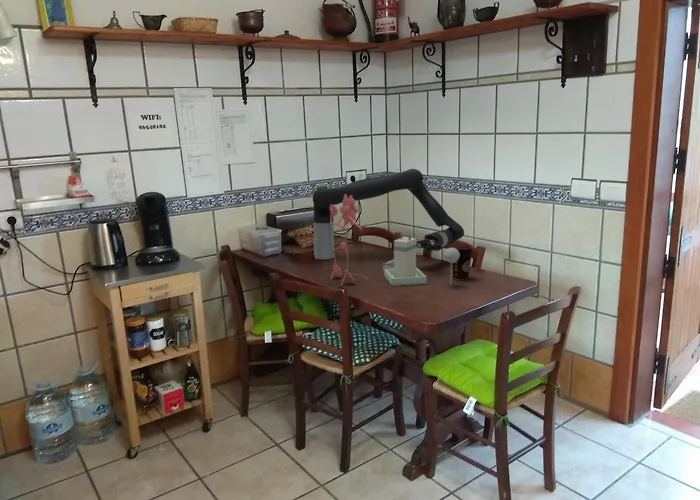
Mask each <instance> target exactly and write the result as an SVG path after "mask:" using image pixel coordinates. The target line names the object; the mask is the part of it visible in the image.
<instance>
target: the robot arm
mask: <svg viewBox="0 0 700 500" xmlns="http://www.w3.org/2000/svg"><path fill="white" fill-rule="evenodd" d="M401 190H408V191H409V192H410V193H411V194H412V195H413V196H414V197H415V198H416V199H417V200H418V203H420V205H422V207H423V208H424V210H425V211H426V212H427V214H428V215H429V217H430V218H431V220H432V221H433V222H434V224H435V225H436V226H437V227H440V228H441V227H444V226H447V228H446V229H441V230H439V231H438V230H437V231H434V232H431V233H428V234H427V235H426V236H424V238H423V239H418V238H415V239H416V249H425V252H427V253H428V252H434V251H436V252H440V251H441V250H443V249H444V247H445V246H450V245H452V244H453V243H455V242H456V241H457V242H458V240H460V239H462V238H463V237H464V236H465V231H464V228H463V226H462V225H460V224H459V223H458V222H457V221H456V220H454V219H453V218H452V217H451V216H449V214H448V213H447V211H446V210H445V209H444V208H443V206H442V205H441V204H440V202H438V200H437V199H436V198H435V197H434V196H433V195H432V194H431V192H430V191H429V190H428V189H427V187H426V185H425V183H424V176H423V173H422V172H421V171H420V170H418V169H415V168H409V169H407V170H403V171H401V172H397V173H395V174H389V175H382V176H381V175H380V176H373V177H368V178H363V179H358V180H355V181H353V182H350V183H347V184H345V185H343V186H342V185H341V186H338V187H330V188H329V187H326V186H320V187H317V188H316V189H315V190H314V192H313V196H312V202H313V255H314V259H315V260H331V259H335V258H334V253H335V252H334V253H333V250H334V249H335V239H334V238H335V236H334V232H335V231H334V224H330V218H331V212H330V210H329V207H330V205H332V204H333V205H334V206H337V205H339V204H343V199H344V195H345V194H346V195H347V198H349V197H350V196H351V195H352V197H353V199H354V200H355V202H356V201H357V202H358V201H363V200H368V199H369V200H370V199H372V198H376V197H380V196H384V195H386V194H388V193H392V192H395V191H401ZM331 223H334V215H333V214H332V222H331ZM334 251H335V250H334Z"/></svg>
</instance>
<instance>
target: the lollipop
mask: <svg viewBox="0 0 700 500" xmlns="http://www.w3.org/2000/svg"><path fill="white" fill-rule="evenodd" d="M443 257H444V260H445V261H446V262H448V263H450V283H449V285H450V286H452V285H453V284H452V281H453V270H452V263H454V262H456V261H457V260H458V259H459V257H460V253H459V251H458V250H457V249H455V248H453V247H448V248H447V249H445V251H444V253H443Z"/></svg>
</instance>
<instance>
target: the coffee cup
mask: <svg viewBox="0 0 700 500" xmlns="http://www.w3.org/2000/svg"><path fill="white" fill-rule="evenodd" d="M452 248H455V249H457V250H458V251H459V253H460V257H459V259H458V260H457V261H456V262H454V263H452V280H453V279H454V280H456V281H466V280H469V275H470V269H471V262H472V254H473V253H474V252H473V250H472V249H471V247H470V246H468V245H455V246H453V247H452Z"/></svg>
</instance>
